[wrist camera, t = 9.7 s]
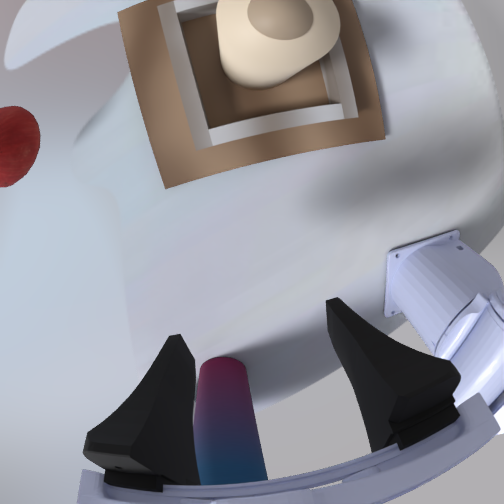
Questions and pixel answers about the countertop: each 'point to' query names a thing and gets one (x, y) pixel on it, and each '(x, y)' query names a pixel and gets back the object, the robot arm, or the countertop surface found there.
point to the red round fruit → (17, 143)
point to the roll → (273, 38)
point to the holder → (240, 94)
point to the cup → (226, 426)
